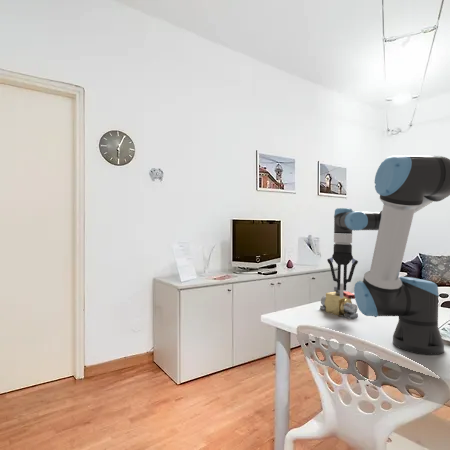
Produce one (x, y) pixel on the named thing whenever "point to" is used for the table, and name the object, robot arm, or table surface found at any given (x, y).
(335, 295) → the valve
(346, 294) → the lever
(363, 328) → the table surface
